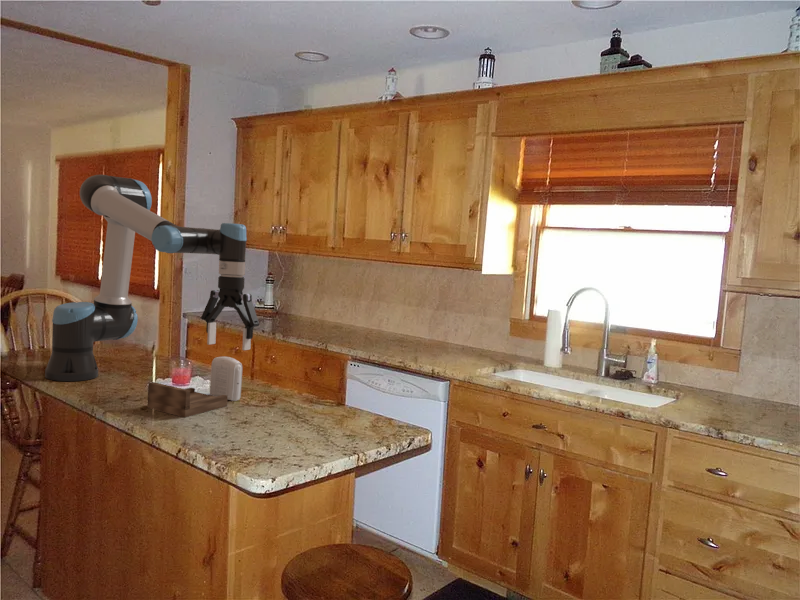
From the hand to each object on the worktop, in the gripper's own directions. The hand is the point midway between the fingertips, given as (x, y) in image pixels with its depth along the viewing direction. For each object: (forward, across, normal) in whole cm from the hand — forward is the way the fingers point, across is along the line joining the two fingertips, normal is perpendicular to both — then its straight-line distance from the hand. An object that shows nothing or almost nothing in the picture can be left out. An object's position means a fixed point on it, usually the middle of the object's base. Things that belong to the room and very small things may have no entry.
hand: (228, 346), depth 193 cm
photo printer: (+16, 0, 0) cm, 16 cm away
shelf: (+15, 0, -15) cm, 22 cm away
